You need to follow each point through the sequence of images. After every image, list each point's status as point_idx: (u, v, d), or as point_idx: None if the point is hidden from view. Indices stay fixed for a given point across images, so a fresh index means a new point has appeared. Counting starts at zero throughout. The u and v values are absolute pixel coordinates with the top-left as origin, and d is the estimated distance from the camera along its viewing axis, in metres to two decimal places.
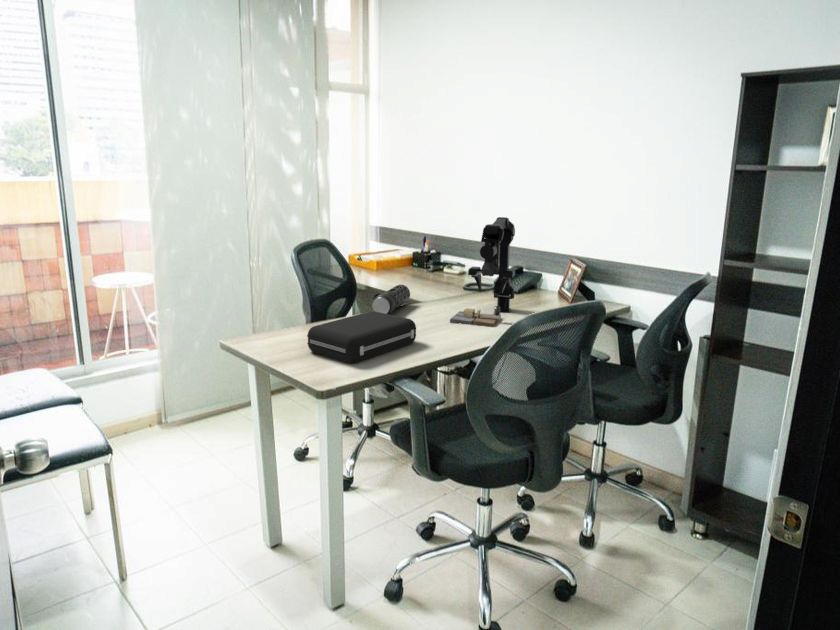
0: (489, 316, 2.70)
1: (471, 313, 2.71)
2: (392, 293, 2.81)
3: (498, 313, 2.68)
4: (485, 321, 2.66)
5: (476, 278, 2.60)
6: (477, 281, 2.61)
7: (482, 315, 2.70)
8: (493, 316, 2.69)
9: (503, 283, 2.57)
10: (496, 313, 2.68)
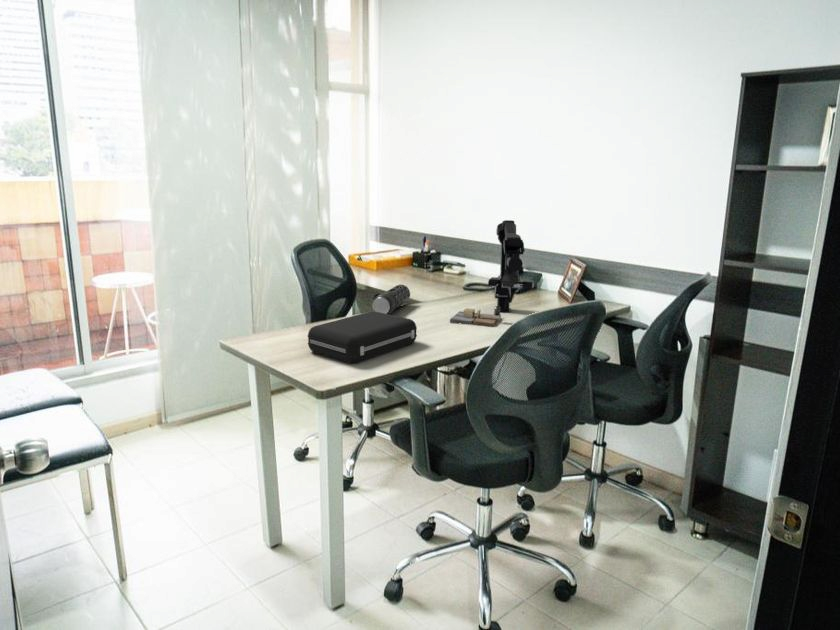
0: (489, 316, 2.70)
1: (471, 313, 2.71)
2: (392, 293, 2.81)
3: (498, 313, 2.68)
4: (485, 321, 2.66)
5: (506, 289, 2.63)
6: (507, 292, 2.64)
7: (482, 315, 2.70)
8: (493, 316, 2.69)
9: (512, 293, 2.63)
10: (496, 313, 2.68)
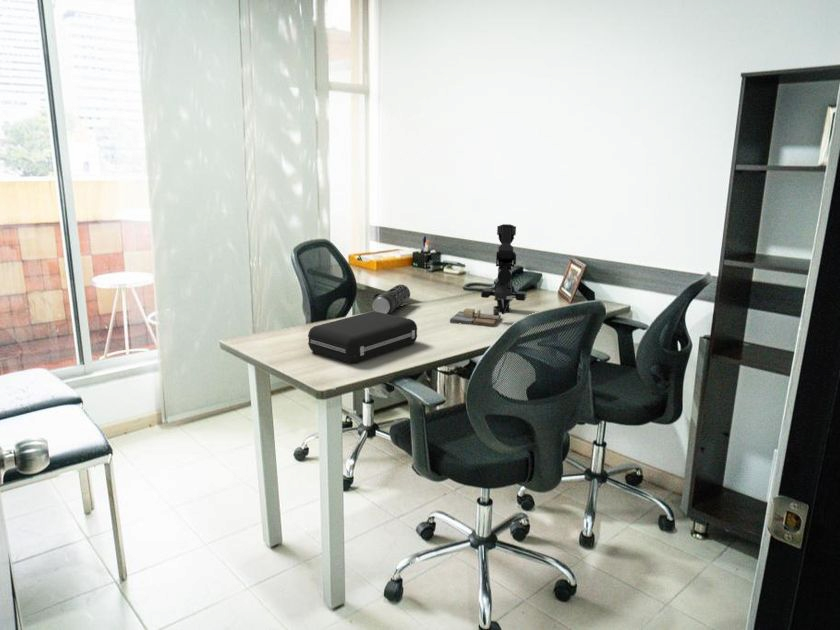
0: (488, 316, 2.70)
1: (471, 313, 2.71)
2: (392, 293, 2.81)
3: (497, 313, 2.68)
4: (485, 321, 2.66)
5: (499, 301, 2.65)
6: (500, 304, 2.66)
7: (481, 315, 2.71)
8: (492, 316, 2.69)
9: (505, 304, 2.65)
10: (495, 313, 2.68)
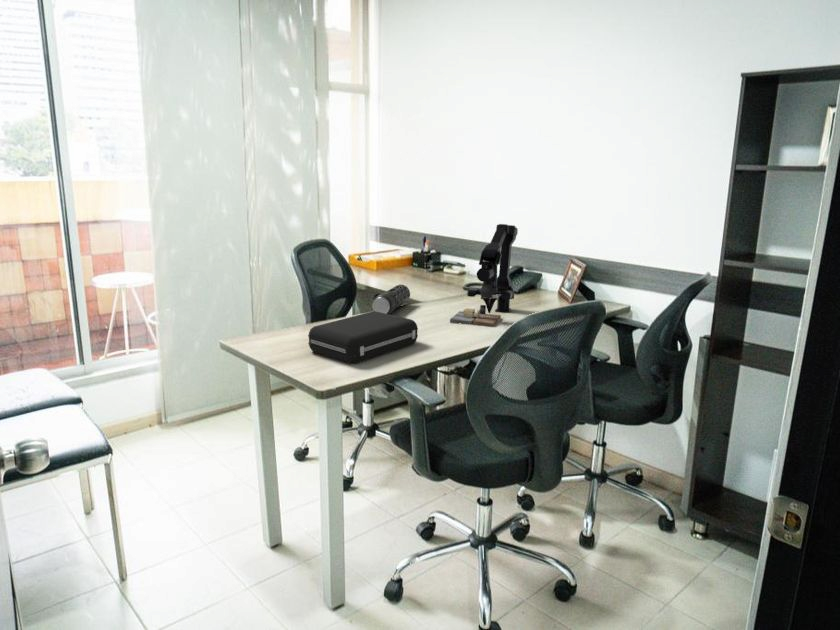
0: (475, 315, 2.72)
1: (471, 313, 2.71)
2: (392, 293, 2.81)
3: (484, 312, 2.70)
4: (485, 321, 2.66)
5: (485, 300, 2.67)
6: (486, 303, 2.68)
7: None
8: (479, 315, 2.71)
9: (491, 303, 2.67)
10: (482, 312, 2.70)
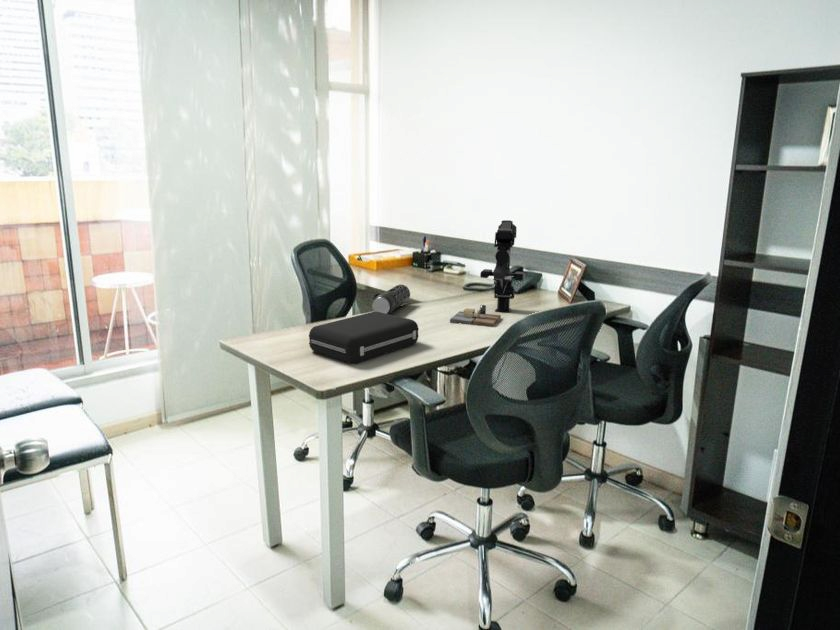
0: (475, 315, 2.72)
1: (471, 313, 2.71)
2: (392, 293, 2.81)
3: (484, 312, 2.70)
4: (485, 321, 2.66)
5: (498, 281, 2.70)
6: (499, 284, 2.71)
7: None
8: (479, 315, 2.71)
9: (504, 284, 2.70)
10: (482, 312, 2.70)
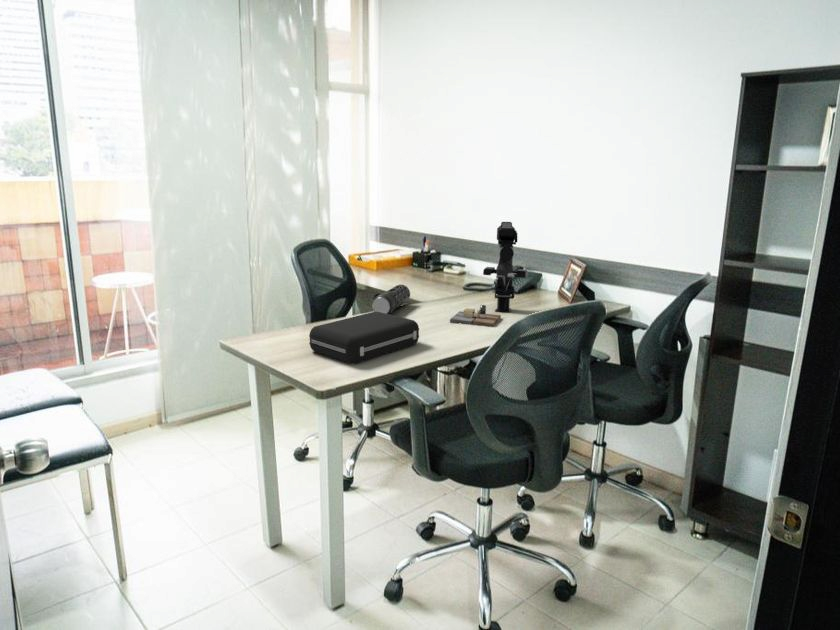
0: (475, 315, 2.72)
1: (471, 313, 2.71)
2: (392, 293, 2.81)
3: (484, 312, 2.70)
4: (485, 321, 2.66)
5: (501, 278, 2.72)
6: (501, 281, 2.73)
7: None
8: (479, 315, 2.71)
9: (506, 282, 2.72)
10: (482, 312, 2.70)
